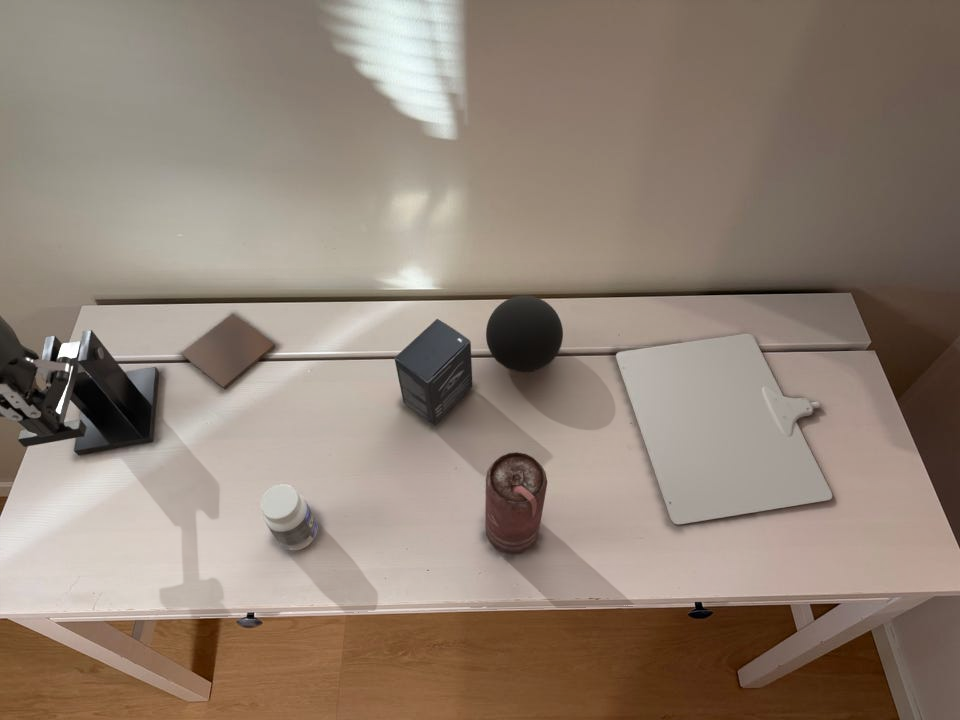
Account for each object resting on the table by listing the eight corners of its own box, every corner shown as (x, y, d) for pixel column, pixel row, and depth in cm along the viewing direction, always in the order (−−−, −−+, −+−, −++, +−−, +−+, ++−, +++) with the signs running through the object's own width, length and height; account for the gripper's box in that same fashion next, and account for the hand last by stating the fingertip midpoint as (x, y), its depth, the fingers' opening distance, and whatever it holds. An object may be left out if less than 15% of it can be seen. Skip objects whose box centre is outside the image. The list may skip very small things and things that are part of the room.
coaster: (224, 389, 88) (223, 387, 87) (182, 356, 91) (180, 353, 90) (276, 346, 92) (275, 344, 91) (233, 315, 95) (232, 313, 95)
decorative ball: (493, 322, 94) (494, 274, 86) (563, 333, 93) (571, 285, 85) (479, 380, 88) (478, 334, 80) (553, 392, 87) (560, 347, 79)
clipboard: (864, 496, 78) (868, 491, 77) (671, 527, 77) (674, 523, 76) (777, 331, 93) (780, 326, 92) (613, 355, 91) (614, 350, 90)
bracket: (153, 442, 83) (102, 380, 72) (78, 455, 82) (14, 395, 71) (159, 371, 89) (112, 305, 78) (89, 383, 88) (32, 317, 77)
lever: (87, 439, 69) (76, 425, 68) (26, 450, 69) (13, 436, 67) (108, 351, 78) (98, 337, 76) (54, 360, 77) (43, 346, 76)
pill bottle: (325, 536, 76) (309, 506, 69) (287, 559, 74) (267, 531, 68) (307, 504, 78) (290, 472, 71) (270, 525, 77) (249, 495, 70)
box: (442, 365, 90) (437, 315, 81) (474, 388, 88) (473, 338, 79) (401, 404, 86) (392, 355, 77) (433, 428, 84) (427, 381, 75)
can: (512, 568, 74) (517, 520, 62) (474, 527, 76) (473, 473, 65) (551, 534, 76) (562, 480, 65) (513, 495, 79) (518, 437, 67)
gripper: (-168, 374, 51) (-27, 473, 65) (13, 345, 53) (113, 448, 67) (-136, 301, 55) (-10, 409, 70) (30, 276, 57) (121, 387, 71)
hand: (50, 428), depth 68 cm, fingers closed
